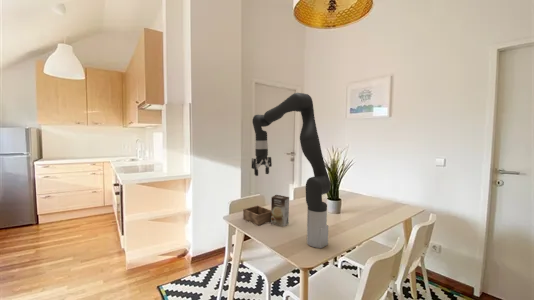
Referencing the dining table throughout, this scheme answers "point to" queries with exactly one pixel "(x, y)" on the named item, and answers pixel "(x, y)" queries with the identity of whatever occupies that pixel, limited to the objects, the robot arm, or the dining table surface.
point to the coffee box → (280, 210)
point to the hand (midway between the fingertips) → (262, 174)
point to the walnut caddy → (257, 215)
